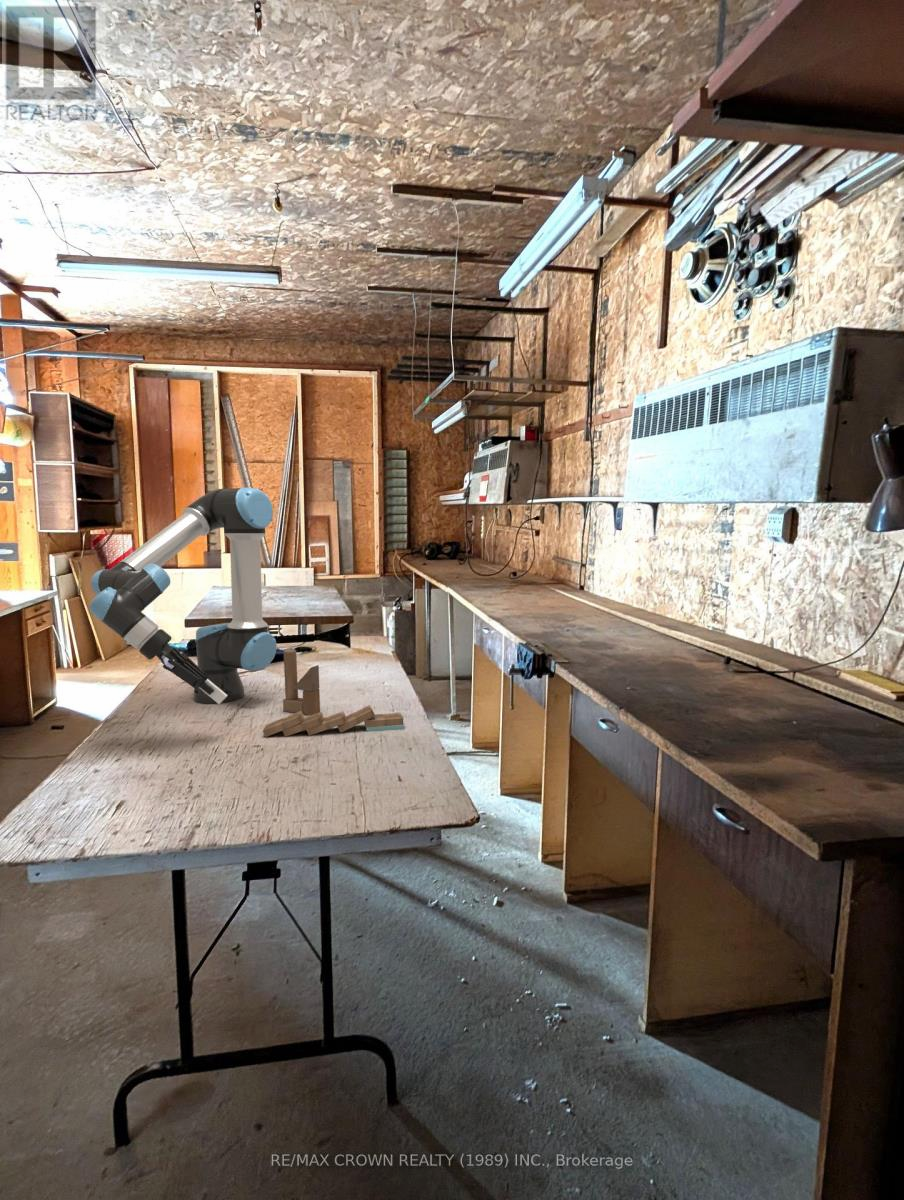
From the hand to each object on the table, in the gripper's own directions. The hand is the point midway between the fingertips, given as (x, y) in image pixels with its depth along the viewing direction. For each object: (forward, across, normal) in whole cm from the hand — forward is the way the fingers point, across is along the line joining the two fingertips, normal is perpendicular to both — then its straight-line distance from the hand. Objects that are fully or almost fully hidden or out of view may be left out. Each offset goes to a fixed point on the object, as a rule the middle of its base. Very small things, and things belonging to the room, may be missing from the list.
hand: (223, 699), depth 167 cm
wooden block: (+21, -18, +6) cm, 28 cm away
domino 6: (+33, +1, +18) cm, 37 cm away
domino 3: (+21, +1, +8) cm, 23 cm away
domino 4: (+27, +1, +14) cm, 30 cm away
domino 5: (+31, 0, +20) cm, 37 cm away
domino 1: (+14, 0, +1) cm, 14 cm away
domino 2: (+17, 0, +4) cm, 18 cm away
